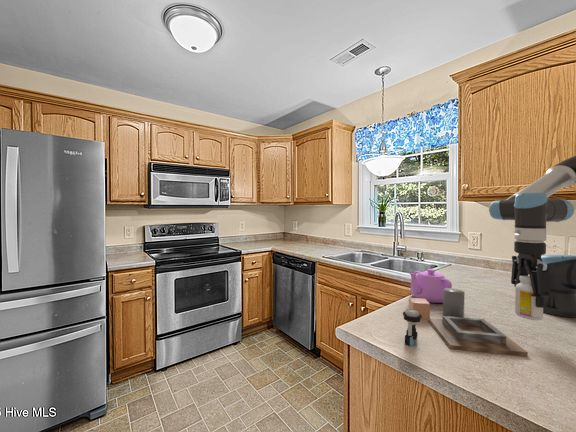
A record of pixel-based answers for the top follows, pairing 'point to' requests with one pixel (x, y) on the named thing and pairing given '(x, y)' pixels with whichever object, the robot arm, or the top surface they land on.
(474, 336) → the socket board
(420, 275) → the teapot
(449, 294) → the grey rounded capsule
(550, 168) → the robot arm
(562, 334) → the top surface
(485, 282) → the top surface
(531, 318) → the supplement bottle
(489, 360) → the top surface
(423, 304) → the terracotta block
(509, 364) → the top surface
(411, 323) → the push button
